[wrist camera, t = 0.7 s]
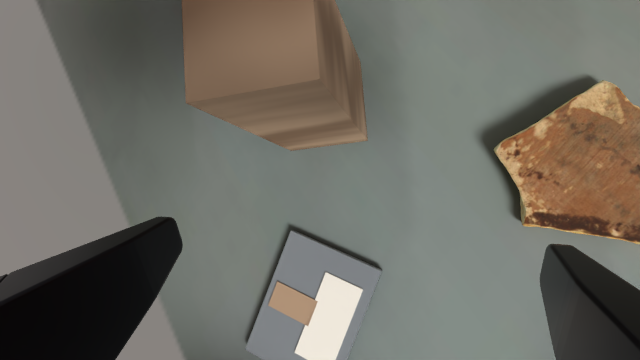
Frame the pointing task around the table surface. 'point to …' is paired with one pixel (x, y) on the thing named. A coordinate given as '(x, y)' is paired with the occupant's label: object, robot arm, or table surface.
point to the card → (313, 303)
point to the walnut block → (275, 69)
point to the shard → (580, 166)
